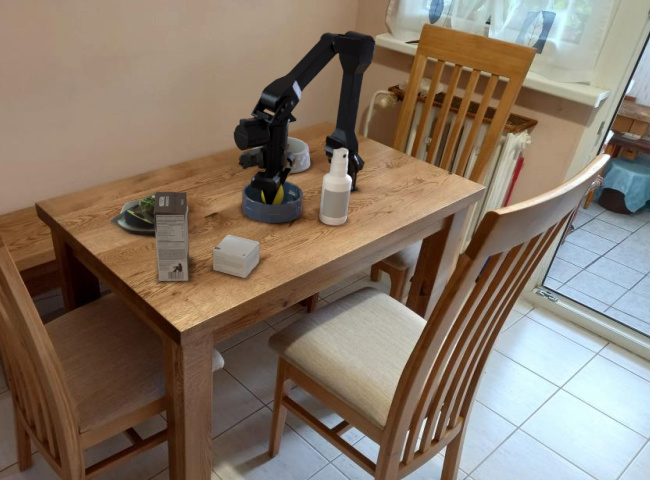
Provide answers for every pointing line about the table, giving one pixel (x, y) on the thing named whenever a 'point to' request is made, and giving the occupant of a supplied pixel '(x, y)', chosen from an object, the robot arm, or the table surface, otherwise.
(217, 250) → the small box
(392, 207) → the table surface
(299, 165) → the dog bowl
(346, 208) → the spray bottle
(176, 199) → the coffee box
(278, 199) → the lemon
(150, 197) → the salad plate
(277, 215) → the bowl
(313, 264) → the table surface
